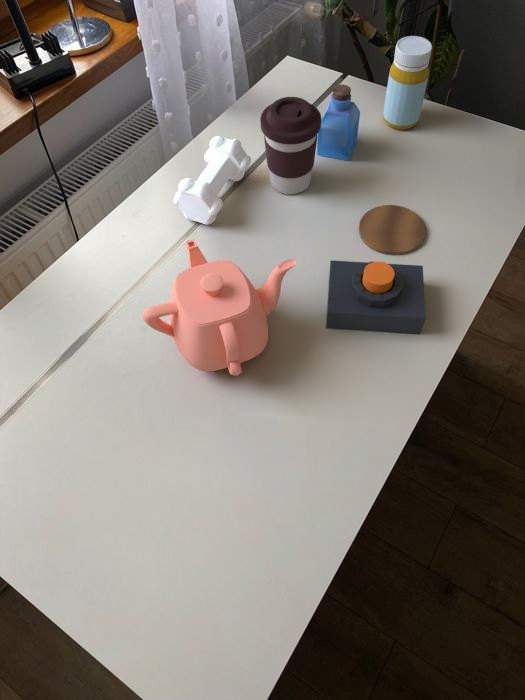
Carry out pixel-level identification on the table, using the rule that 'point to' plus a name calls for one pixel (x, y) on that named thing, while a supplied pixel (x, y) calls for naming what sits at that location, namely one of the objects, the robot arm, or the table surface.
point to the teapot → (217, 312)
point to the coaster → (392, 230)
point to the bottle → (407, 82)
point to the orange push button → (378, 277)
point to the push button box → (375, 300)
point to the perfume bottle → (339, 125)
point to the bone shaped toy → (212, 180)
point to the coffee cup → (290, 142)
